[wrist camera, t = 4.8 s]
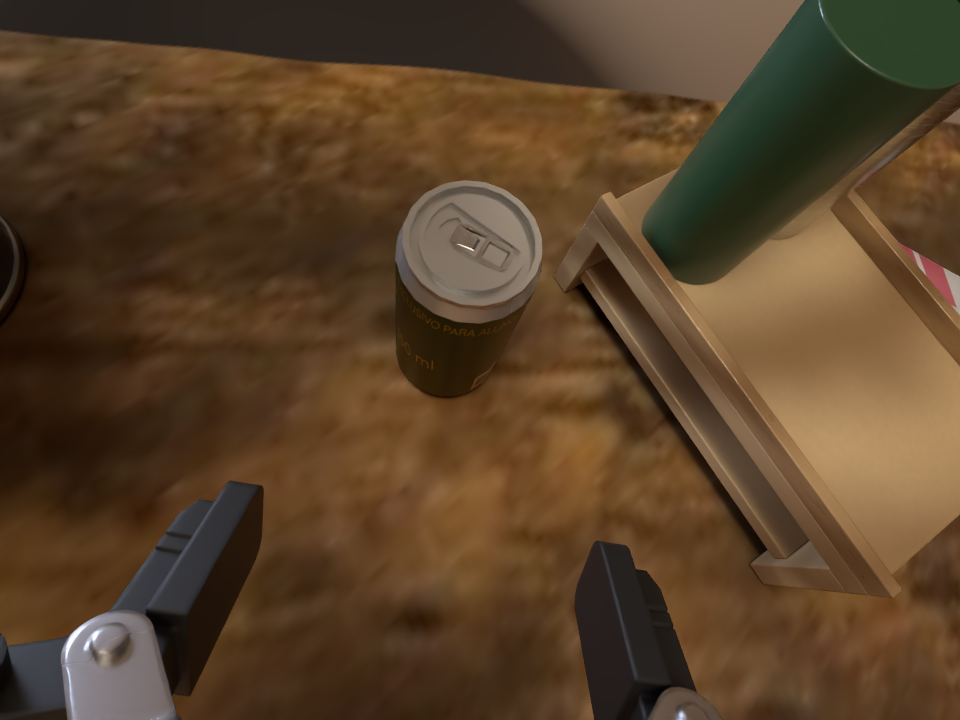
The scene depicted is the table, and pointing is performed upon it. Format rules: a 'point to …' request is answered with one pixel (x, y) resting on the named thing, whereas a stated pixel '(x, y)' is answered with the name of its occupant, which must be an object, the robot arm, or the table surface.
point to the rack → (802, 297)
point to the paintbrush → (939, 278)
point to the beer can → (462, 283)
